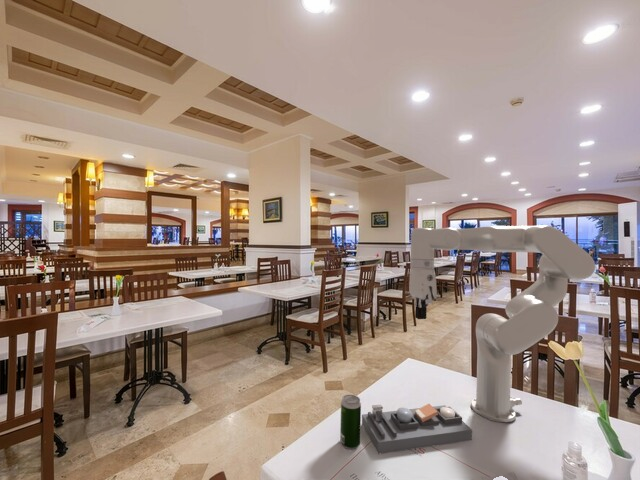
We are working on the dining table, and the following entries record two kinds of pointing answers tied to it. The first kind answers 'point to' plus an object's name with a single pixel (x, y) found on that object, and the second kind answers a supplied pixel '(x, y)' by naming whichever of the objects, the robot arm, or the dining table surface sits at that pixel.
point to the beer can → (350, 422)
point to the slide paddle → (377, 412)
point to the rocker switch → (426, 412)
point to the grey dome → (404, 415)
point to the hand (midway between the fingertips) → (420, 318)
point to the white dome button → (447, 412)
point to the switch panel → (414, 431)
